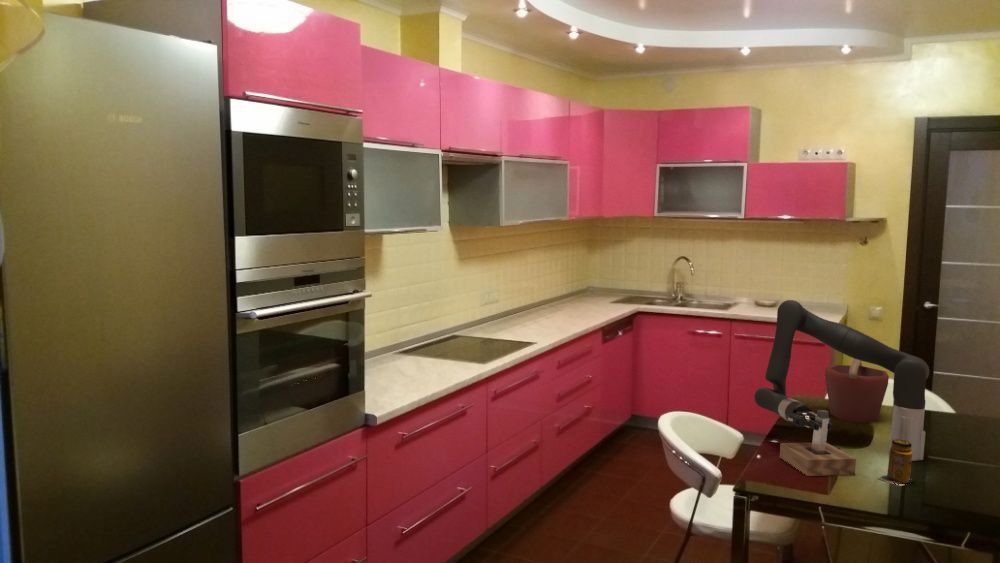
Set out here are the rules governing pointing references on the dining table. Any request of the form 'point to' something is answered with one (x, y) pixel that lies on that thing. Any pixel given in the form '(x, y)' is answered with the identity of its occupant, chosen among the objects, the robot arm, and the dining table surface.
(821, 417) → the metal bar
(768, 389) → the robot arm
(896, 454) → the condiment
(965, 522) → the dining table surface
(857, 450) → the dining table surface
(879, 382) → the bucket
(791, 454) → the tongs holder
